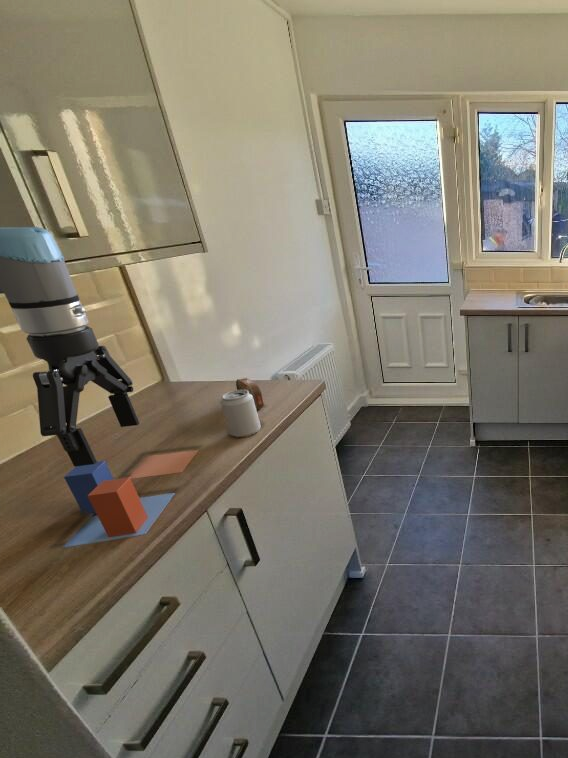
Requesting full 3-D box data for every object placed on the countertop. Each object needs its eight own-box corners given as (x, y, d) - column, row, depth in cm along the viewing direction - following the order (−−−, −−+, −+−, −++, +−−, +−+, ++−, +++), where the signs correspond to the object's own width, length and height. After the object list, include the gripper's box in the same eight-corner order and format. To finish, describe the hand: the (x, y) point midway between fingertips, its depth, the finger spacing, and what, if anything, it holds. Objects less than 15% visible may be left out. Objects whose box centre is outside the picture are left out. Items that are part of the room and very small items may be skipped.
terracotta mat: (122, 481, 96) (121, 480, 96) (144, 457, 105) (144, 456, 104) (182, 473, 99) (181, 471, 99) (199, 451, 108) (198, 449, 107)
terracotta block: (108, 537, 79) (87, 495, 75) (121, 521, 83) (102, 481, 79) (136, 533, 80) (116, 491, 76) (148, 517, 84) (130, 477, 80)
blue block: (84, 517, 84) (63, 476, 80) (98, 503, 88) (78, 464, 84) (111, 513, 85) (91, 473, 81) (123, 499, 89) (105, 460, 85)
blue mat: (56, 550, 77) (56, 548, 77) (99, 505, 88) (99, 503, 88) (145, 535, 80) (145, 534, 80) (176, 494, 92) (175, 492, 92)
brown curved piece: (239, 400, 135) (232, 376, 131) (249, 397, 137) (243, 373, 134) (257, 414, 126) (250, 389, 123) (268, 411, 128) (261, 386, 125)
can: (267, 426, 119) (257, 389, 114) (248, 440, 112) (236, 400, 108) (245, 424, 120) (233, 387, 115) (224, 437, 114) (211, 398, 109)
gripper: (28, 353, 56) (91, 480, 65) (129, 310, 78) (166, 410, 87) (-43, 357, 54) (31, 488, 63) (80, 312, 76) (123, 414, 85)
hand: (109, 443), depth 75 cm, fingers open, 13 cm apart
